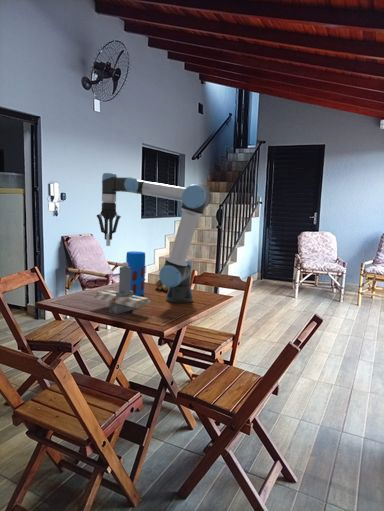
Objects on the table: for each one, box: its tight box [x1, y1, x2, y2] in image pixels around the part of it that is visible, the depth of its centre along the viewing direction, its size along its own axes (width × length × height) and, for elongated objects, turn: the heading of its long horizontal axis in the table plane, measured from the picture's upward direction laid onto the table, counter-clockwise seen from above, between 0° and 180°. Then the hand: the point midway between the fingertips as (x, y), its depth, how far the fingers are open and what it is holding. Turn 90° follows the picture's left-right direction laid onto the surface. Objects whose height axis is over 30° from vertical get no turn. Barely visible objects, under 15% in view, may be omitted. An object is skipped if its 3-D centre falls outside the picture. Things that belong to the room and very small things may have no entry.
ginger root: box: [154, 279, 169, 291], centre depth 236 cm, size 16×16×8 cm
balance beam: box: [93, 289, 151, 315], centre depth 181 cm, size 28×12×8 cm, turn 57°
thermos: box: [125, 250, 146, 297], centre depth 216 cm, size 11×11×25 cm
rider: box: [116, 261, 133, 297], centre depth 179 cm, size 4×8×18 cm, turn 147°
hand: (108, 245), depth 202 cm, fingers closed
